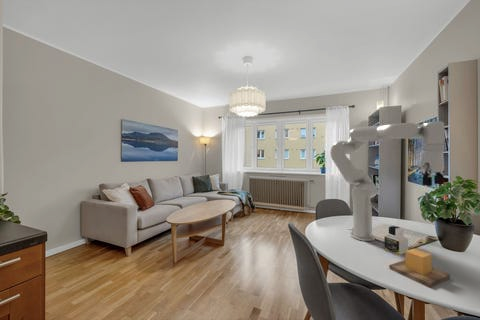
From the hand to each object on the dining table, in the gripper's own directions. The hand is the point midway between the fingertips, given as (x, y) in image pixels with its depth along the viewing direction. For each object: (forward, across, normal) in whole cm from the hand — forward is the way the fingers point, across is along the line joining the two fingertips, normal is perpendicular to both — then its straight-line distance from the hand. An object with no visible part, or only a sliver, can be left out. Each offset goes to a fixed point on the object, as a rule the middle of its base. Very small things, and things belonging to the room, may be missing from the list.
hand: (433, 184), depth 97 cm
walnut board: (+34, +22, +5) cm, 41 cm away
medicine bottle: (+34, +9, -11) cm, 37 cm away
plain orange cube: (+33, +22, +5) cm, 40 cm away
